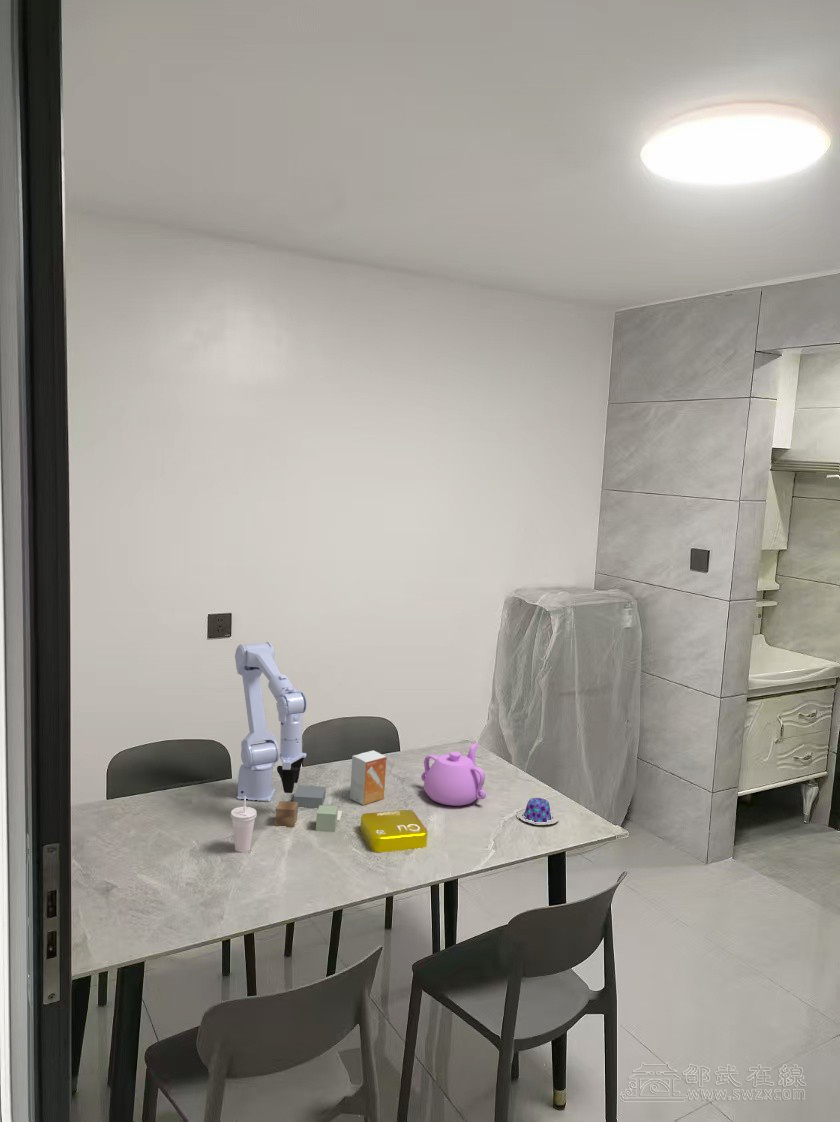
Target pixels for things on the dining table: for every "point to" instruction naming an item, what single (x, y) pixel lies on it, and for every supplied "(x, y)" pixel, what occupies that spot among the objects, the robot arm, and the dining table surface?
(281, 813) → the walnut cube
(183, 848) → the dining table surface
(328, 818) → the sage cube
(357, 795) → the small box
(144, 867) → the dining table surface
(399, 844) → the element tile
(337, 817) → the card
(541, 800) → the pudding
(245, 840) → the smoothie
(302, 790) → the slate block
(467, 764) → the teapot
